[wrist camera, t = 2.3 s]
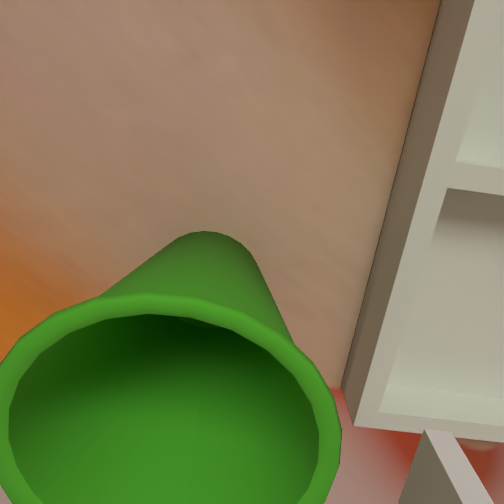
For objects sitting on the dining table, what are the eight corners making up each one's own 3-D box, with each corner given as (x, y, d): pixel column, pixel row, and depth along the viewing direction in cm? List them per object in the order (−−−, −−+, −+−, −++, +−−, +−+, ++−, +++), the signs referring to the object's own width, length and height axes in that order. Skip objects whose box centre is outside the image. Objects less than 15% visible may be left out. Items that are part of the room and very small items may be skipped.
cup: (299, 186, 19) (355, 291, 9) (296, 353, 22) (334, 575, 12) (105, 190, 19) (-69, 299, 9) (130, 356, 22) (23, 579, 12)
